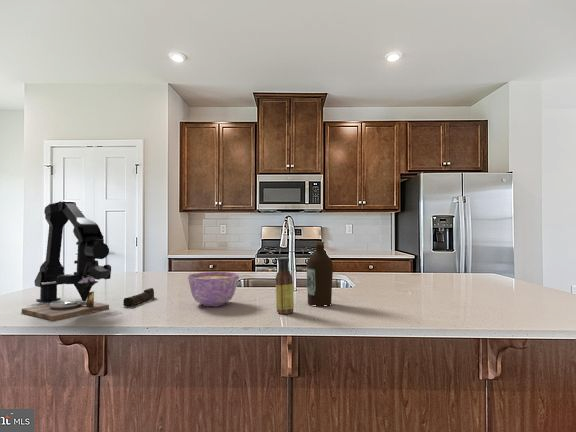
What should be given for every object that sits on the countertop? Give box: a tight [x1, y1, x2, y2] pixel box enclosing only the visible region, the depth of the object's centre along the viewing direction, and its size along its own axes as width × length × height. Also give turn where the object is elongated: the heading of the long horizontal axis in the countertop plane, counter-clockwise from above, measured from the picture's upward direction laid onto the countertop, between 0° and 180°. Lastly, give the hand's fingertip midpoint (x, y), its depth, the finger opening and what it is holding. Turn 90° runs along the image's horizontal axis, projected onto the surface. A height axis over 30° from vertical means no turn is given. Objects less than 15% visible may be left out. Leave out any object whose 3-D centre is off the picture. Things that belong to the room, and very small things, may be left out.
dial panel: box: [21, 298, 110, 322], centre depth 132 cm, size 20×20×2 cm
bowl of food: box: [187, 271, 240, 307], centre depth 145 cm, size 20×20×12 cm
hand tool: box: [122, 287, 155, 308], centre depth 148 cm, size 19×4×5 cm, turn 168°
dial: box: [49, 290, 95, 309], centre depth 133 cm, size 14×10×5 cm
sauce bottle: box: [275, 257, 294, 315], centre depth 132 cm, size 6×6×20 cm
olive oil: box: [305, 241, 334, 306], centre depth 146 cm, size 11×11×25 cm
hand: (84, 301), depth 131 cm, fingers closed
